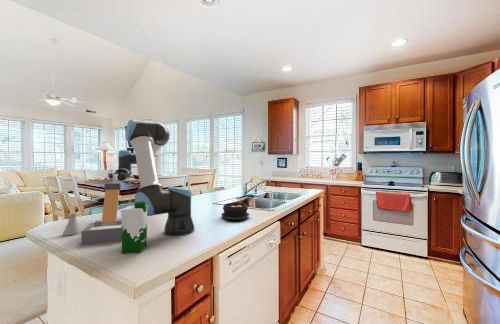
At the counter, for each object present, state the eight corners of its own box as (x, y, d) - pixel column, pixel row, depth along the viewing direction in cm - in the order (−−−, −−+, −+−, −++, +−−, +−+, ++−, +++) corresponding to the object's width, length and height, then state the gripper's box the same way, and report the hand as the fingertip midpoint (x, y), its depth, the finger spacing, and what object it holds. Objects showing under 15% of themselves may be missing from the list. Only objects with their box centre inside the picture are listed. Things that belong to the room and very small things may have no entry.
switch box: (91, 234, 113) (91, 218, 113) (131, 231, 119) (131, 215, 119) (81, 244, 100) (81, 226, 100) (127, 239, 106) (127, 222, 106)
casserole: (250, 222, 138) (250, 208, 138) (220, 222, 137) (220, 208, 137) (248, 212, 163) (248, 201, 163) (222, 213, 162) (222, 201, 162)
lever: (101, 224, 110) (105, 185, 118) (117, 222, 112) (121, 185, 121) (99, 222, 108) (104, 183, 116) (116, 221, 110) (120, 183, 119)
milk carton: (141, 254, 90) (141, 204, 90) (117, 254, 90) (118, 204, 90) (149, 245, 99) (149, 200, 99) (127, 246, 98) (128, 200, 98)
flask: (71, 236, 110) (71, 216, 110) (59, 235, 112) (59, 215, 112) (84, 232, 117) (84, 212, 117) (73, 231, 119) (73, 212, 119)
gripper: (133, 180, 147) (127, 184, 124) (110, 180, 142) (100, 184, 120) (133, 168, 146) (128, 170, 124) (110, 168, 142) (100, 170, 120)
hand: (114, 177), depth 122 cm, fingers closed
